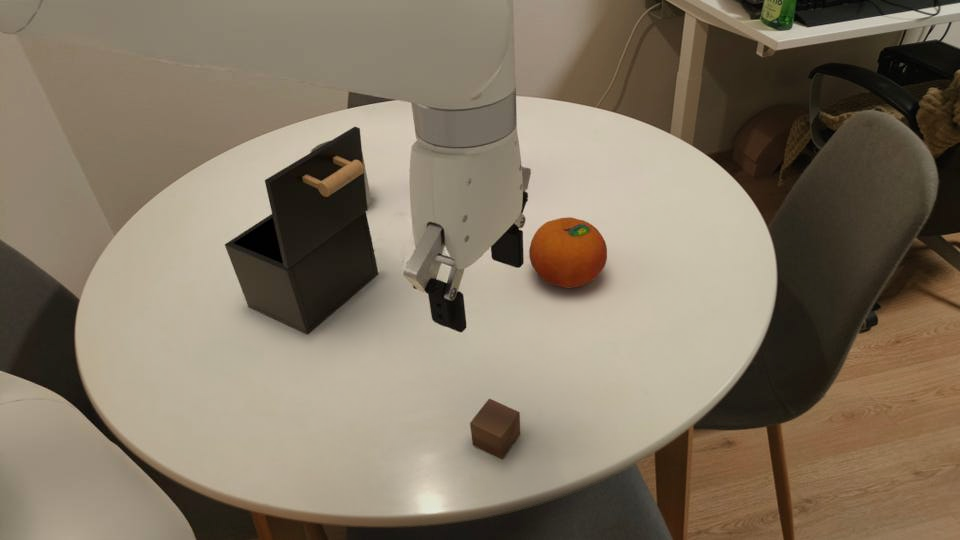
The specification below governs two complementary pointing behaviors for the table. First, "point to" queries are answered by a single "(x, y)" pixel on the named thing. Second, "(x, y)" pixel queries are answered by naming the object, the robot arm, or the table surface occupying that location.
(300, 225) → the box lid
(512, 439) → the block
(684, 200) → the table surface
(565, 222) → the fruit
